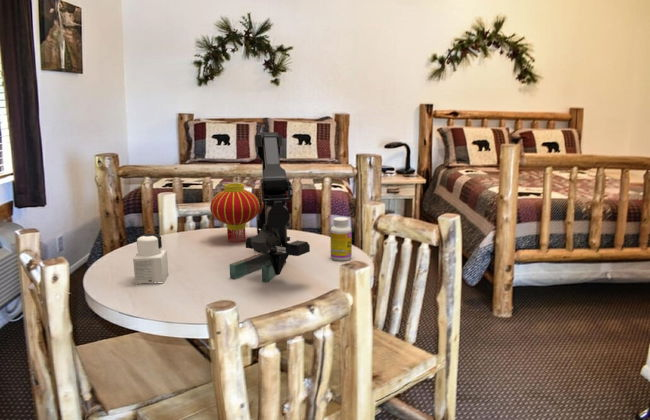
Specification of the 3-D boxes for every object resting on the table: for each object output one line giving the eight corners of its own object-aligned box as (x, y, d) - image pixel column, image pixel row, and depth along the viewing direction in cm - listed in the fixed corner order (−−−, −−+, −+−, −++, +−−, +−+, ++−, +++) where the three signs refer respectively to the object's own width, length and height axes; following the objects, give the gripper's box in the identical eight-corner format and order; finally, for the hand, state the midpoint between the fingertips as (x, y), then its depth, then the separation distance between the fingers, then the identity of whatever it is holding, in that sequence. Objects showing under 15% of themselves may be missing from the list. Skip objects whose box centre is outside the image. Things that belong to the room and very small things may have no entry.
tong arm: (261, 281, 154) (261, 267, 153) (279, 262, 171) (279, 249, 170) (268, 282, 153) (268, 268, 153) (286, 262, 171) (285, 250, 170)
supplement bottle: (349, 261, 172) (349, 221, 169) (328, 260, 173) (328, 220, 171) (353, 255, 178) (353, 216, 176) (332, 254, 180) (332, 215, 177)
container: (141, 275, 161) (138, 232, 158) (168, 274, 162) (165, 231, 159) (135, 284, 154) (131, 239, 151) (163, 283, 154) (160, 238, 151)
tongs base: (230, 277, 158) (229, 262, 157) (277, 259, 176) (277, 245, 175) (239, 280, 156) (239, 265, 155) (287, 261, 173) (287, 247, 173)
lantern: (201, 242, 196) (196, 157, 190) (236, 232, 210) (232, 152, 203) (237, 249, 186) (233, 160, 180) (270, 238, 200) (268, 155, 194)
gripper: (230, 222, 151) (233, 277, 154) (284, 229, 141) (286, 288, 143) (257, 215, 160) (259, 267, 163) (310, 221, 150) (311, 277, 153)
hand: (278, 274), depth 155 cm, fingers closed
